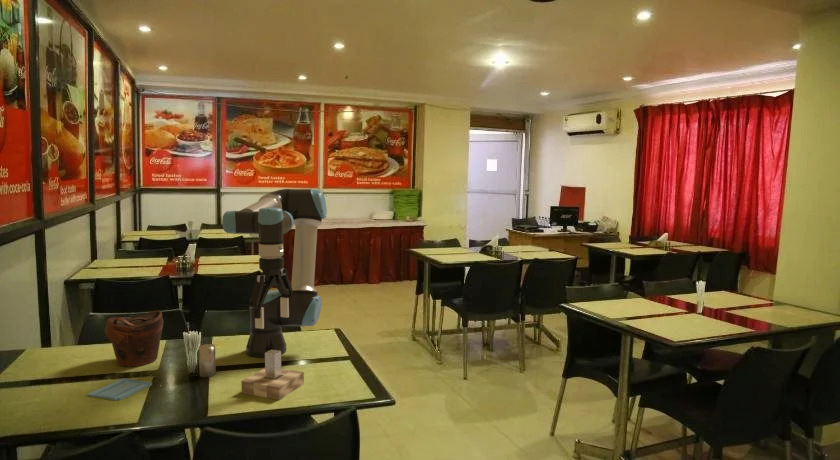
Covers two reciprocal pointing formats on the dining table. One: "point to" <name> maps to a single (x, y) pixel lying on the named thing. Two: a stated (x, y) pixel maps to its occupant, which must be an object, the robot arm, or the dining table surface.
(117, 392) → the blue flat panel
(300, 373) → the socket block
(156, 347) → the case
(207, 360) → the round bit
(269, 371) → the square bit
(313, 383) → the dining table surface
